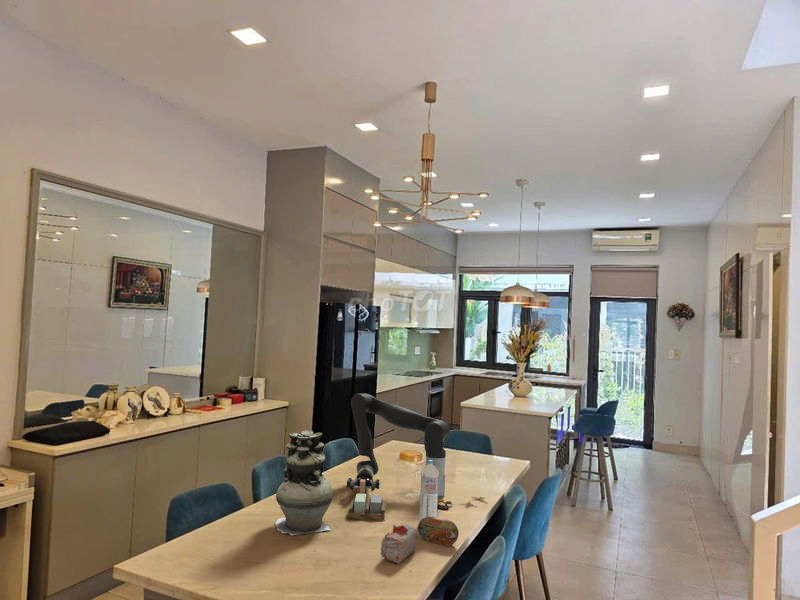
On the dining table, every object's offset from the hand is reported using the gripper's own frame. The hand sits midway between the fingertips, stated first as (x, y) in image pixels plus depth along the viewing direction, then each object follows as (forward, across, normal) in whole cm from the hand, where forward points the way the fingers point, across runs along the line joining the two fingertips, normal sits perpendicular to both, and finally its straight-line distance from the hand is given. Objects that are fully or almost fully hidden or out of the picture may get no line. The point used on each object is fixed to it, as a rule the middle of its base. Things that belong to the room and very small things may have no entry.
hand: (362, 488), depth 226 cm
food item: (+49, +16, +7) cm, 52 cm away
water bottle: (+21, +27, +7) cm, 35 cm away
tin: (+36, +30, +7) cm, 47 cm away
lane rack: (+11, +3, +6) cm, 13 cm away
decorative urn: (+27, -20, +7) cm, 34 cm away
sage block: (+7, 0, +7) cm, 10 cm away
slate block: (+10, +7, +7) cm, 14 cm away
